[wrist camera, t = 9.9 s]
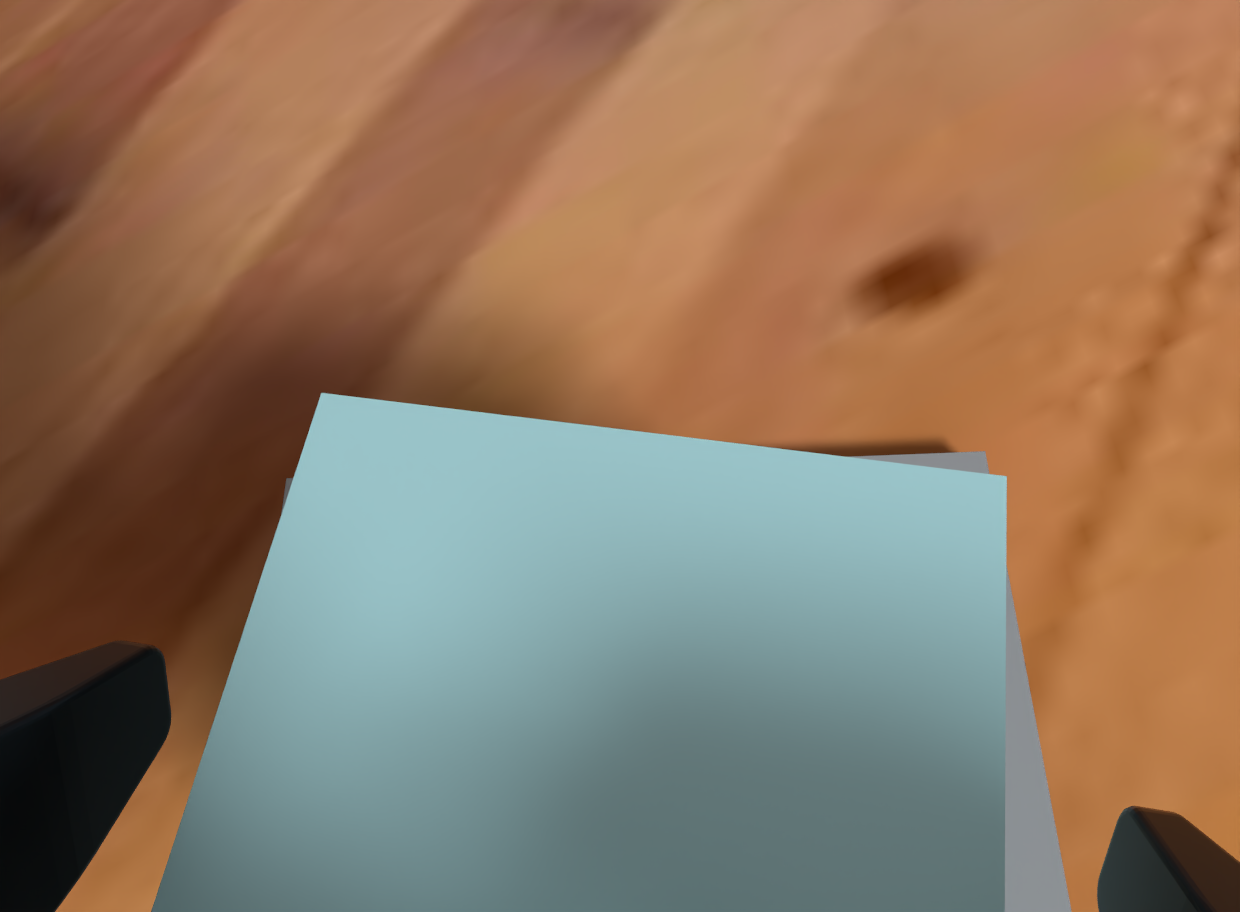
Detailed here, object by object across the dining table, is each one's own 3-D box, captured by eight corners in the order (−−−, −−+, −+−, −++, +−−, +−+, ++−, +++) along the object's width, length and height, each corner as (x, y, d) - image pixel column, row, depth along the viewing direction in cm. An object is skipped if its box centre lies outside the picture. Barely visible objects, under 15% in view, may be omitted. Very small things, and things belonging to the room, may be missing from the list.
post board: (1135, 1362, 14) (1313, 1553, 10) (185, 1350, 14) (-1, 1523, 11) (974, 467, 19) (1045, 362, 16) (300, 492, 20) (207, 398, 16)
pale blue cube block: (824, 1117, 14) (1002, 1421, 6) (395, 1028, 15) (58, 1193, 7) (854, 671, 17) (1006, 476, 9) (488, 617, 18) (322, 393, 10)
